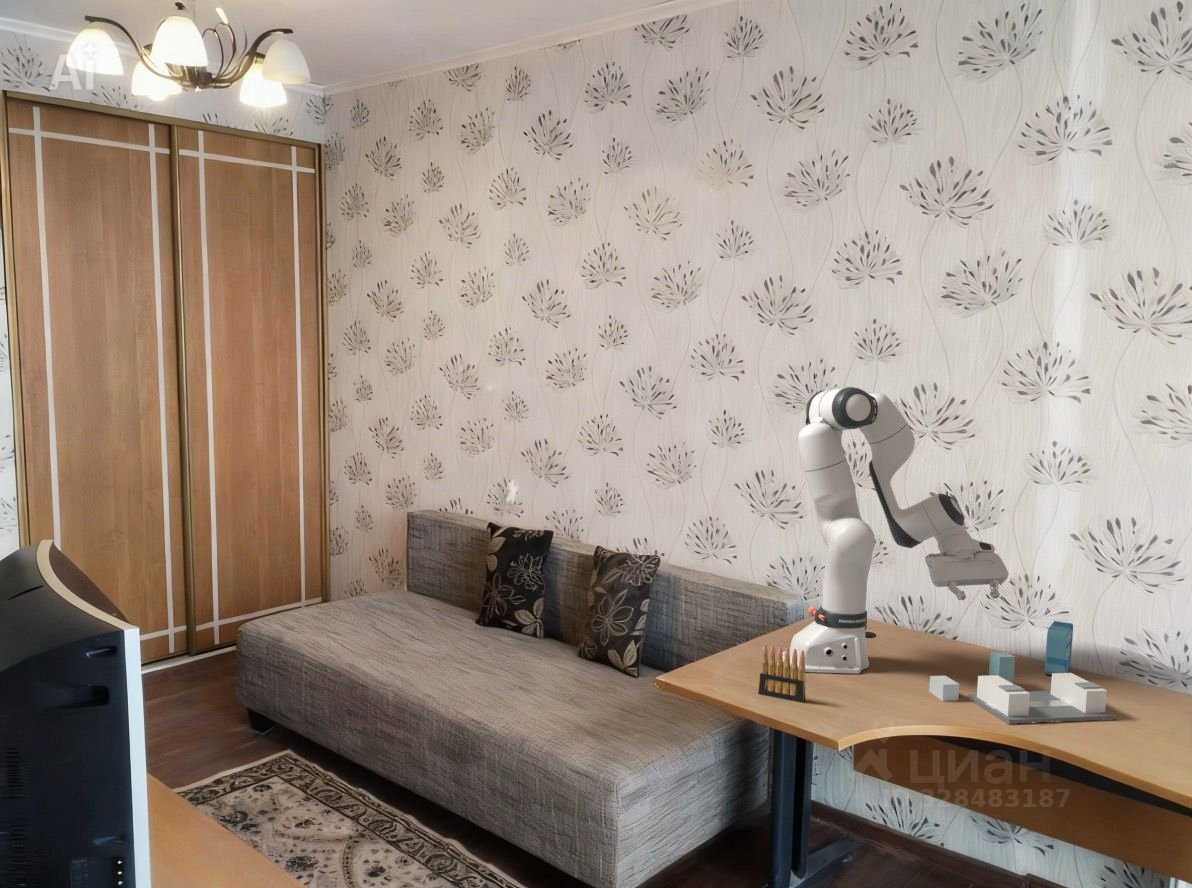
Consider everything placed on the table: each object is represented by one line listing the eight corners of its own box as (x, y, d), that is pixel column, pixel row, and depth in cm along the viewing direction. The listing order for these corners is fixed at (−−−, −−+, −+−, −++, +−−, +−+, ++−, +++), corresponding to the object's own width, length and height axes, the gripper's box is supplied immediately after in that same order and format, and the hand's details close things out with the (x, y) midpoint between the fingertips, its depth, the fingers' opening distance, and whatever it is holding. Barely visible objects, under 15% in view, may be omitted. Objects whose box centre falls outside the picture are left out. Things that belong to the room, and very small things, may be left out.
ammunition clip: (805, 700, 213) (807, 649, 212) (803, 702, 212) (805, 651, 211) (760, 691, 218) (762, 642, 217) (758, 694, 217) (760, 644, 216)
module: (997, 689, 224) (999, 657, 223) (988, 683, 228) (990, 652, 227) (1012, 688, 225) (1015, 656, 224) (1003, 683, 229) (1005, 651, 228)
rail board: (1008, 724, 202) (1009, 719, 202) (967, 698, 217) (968, 693, 217) (1115, 719, 206) (1115, 714, 206) (1067, 694, 222) (1067, 689, 222)
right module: (1085, 713, 207) (1086, 689, 206) (1050, 694, 219) (1052, 671, 218) (1105, 712, 208) (1106, 688, 207) (1069, 693, 219) (1071, 671, 219)
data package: (1063, 679, 233) (1067, 632, 232) (1044, 675, 235) (1047, 629, 234) (1070, 667, 243) (1073, 622, 242) (1051, 663, 245) (1054, 619, 244)
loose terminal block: (942, 701, 215) (943, 684, 215) (929, 692, 221) (930, 676, 221) (958, 700, 216) (959, 684, 216) (944, 691, 222) (945, 675, 221)
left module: (1007, 716, 204) (1009, 692, 203) (976, 696, 215) (978, 674, 215) (1028, 715, 205) (1030, 691, 204) (996, 696, 216) (997, 673, 216)
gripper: (927, 547, 241) (946, 593, 232) (999, 544, 245) (1020, 589, 236) (918, 560, 246) (936, 606, 237) (988, 557, 249) (1009, 602, 241)
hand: (979, 598), depth 237 cm, fingers open, 8 cm apart
